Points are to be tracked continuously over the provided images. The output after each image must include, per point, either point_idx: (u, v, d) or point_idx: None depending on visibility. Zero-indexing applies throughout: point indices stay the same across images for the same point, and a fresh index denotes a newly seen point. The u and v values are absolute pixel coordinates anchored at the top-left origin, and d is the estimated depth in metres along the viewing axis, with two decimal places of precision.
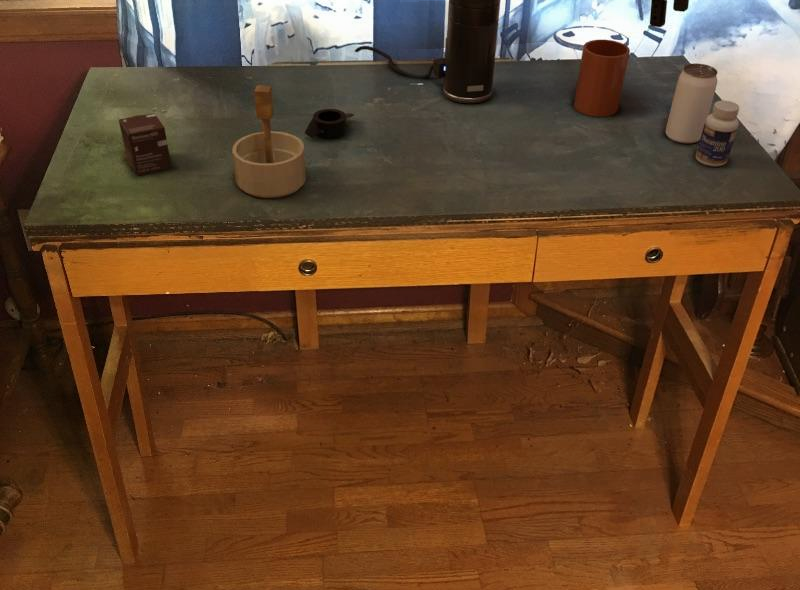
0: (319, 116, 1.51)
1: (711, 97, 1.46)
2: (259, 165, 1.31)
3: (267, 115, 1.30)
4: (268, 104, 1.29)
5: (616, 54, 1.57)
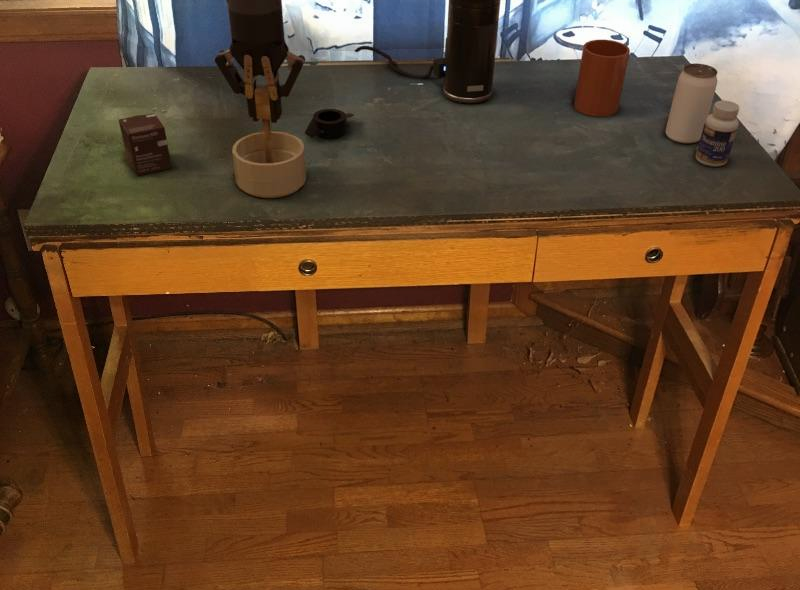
0: (319, 116, 1.51)
1: (711, 97, 1.46)
2: (259, 165, 1.31)
3: (267, 115, 1.30)
4: (268, 104, 1.29)
5: (616, 54, 1.57)
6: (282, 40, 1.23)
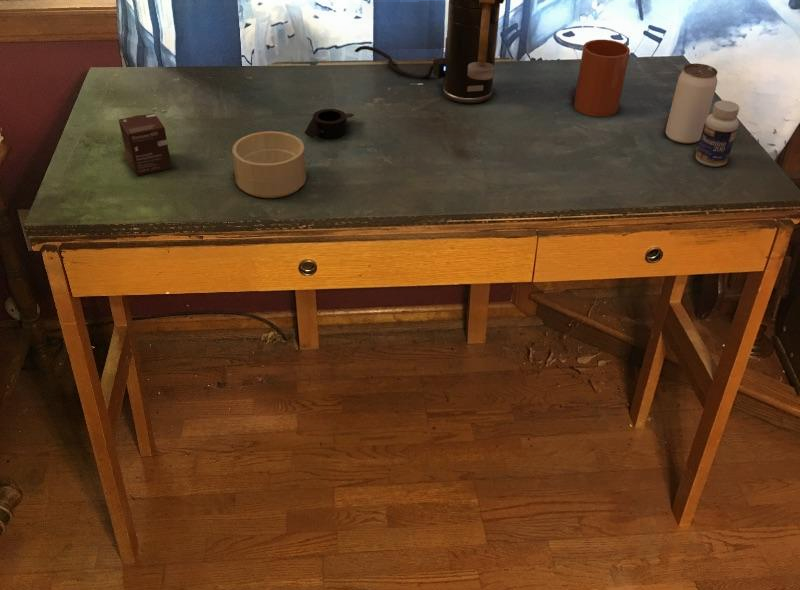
0: (319, 116, 1.51)
1: (711, 97, 1.46)
2: (259, 165, 1.31)
3: None
4: None
5: (616, 54, 1.57)
6: None
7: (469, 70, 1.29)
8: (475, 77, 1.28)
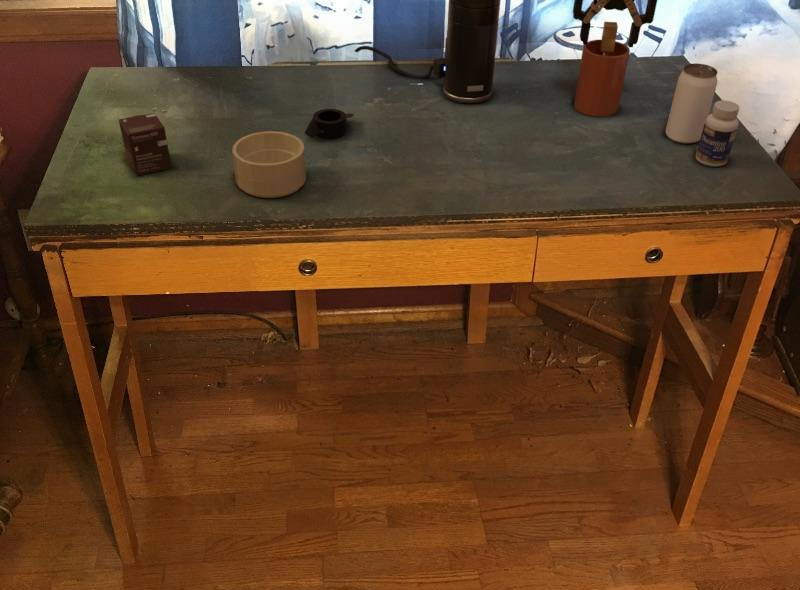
0: (319, 116, 1.51)
1: (711, 97, 1.46)
2: (259, 165, 1.31)
3: (611, 48, 1.52)
4: (614, 37, 1.51)
5: (616, 54, 1.57)
6: None
7: None
8: None
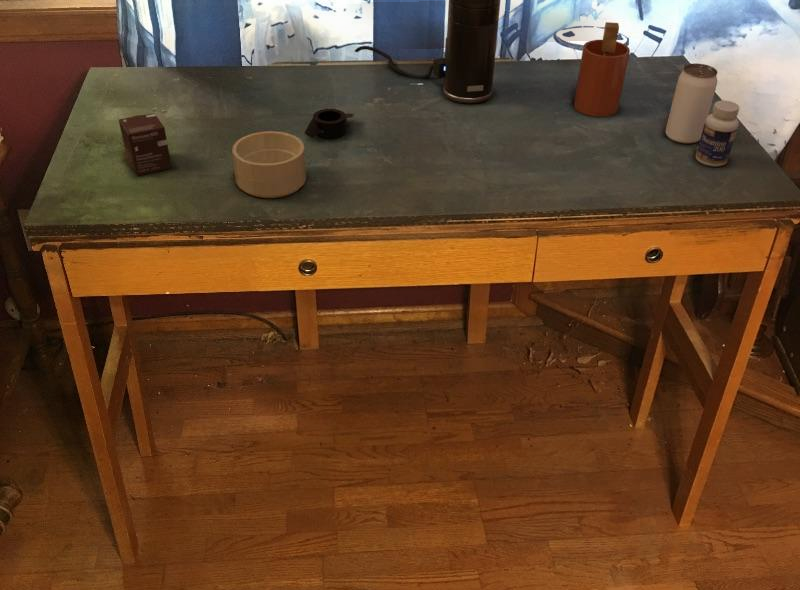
0: (319, 116, 1.51)
1: (711, 97, 1.46)
2: (259, 165, 1.31)
3: (612, 48, 1.52)
4: (616, 38, 1.50)
5: (616, 54, 1.57)
6: None
7: None
8: None
